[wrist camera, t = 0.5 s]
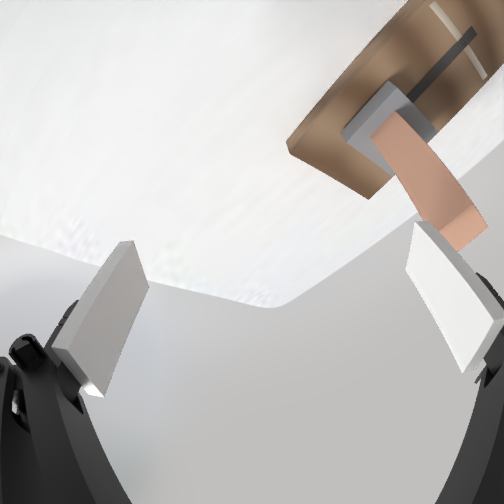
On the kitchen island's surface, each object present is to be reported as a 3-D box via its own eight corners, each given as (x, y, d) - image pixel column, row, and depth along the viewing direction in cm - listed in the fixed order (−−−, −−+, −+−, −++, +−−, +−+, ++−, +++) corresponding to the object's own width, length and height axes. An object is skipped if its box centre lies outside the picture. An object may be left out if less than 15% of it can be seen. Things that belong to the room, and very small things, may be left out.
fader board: (362, 187, 29) (368, 200, 27) (286, 141, 24) (290, 154, 23) (511, 31, 12) (525, 38, 10) (458, -48, 7) (473, -47, 6)
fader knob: (385, 166, 24) (443, 272, 16) (340, 132, 21) (400, 246, 14) (429, 123, 20) (508, 220, 13) (388, 80, 17) (484, 173, 10)
